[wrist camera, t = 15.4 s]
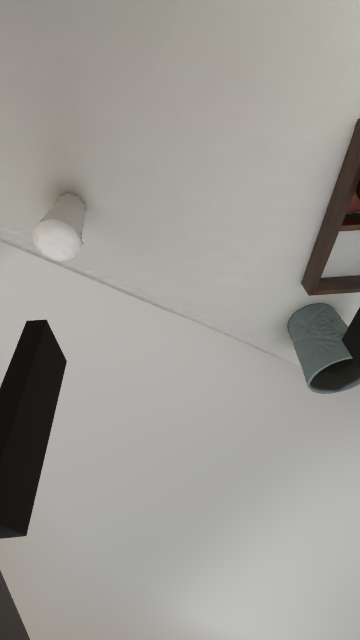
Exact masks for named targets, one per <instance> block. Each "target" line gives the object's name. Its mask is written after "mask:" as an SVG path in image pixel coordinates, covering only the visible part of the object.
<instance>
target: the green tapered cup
mask: <svg viewBox="0 0 360 640" xmlns="http://www.w3.org/2000/svg"><path fill="white" fill-rule="evenodd" d="M347 329H348V326H347V325H346V324H345V323H344V321H343V320H342V319H341V317H340V316H339V315H338V313H337V312H336V311H335V309H334V308H333V307H331V306H330V305H327V304H312V305H309V306H306V307H304V308H302V309H300V310H299V311H297V312H296V313H295V314H294V315H293V316H292V317H291V318H290V320H289V322H288V331H289V334H290V337H291V339H292V340H293V345H294V348H295V350H296V353H297V356H298V358H299V361H300V364H301V366H302V369H303V373H304V376H305V379H306V382H307V385H308V387H309V389H310V390H312V391H313V392H316V393H322V394H327V393H328V394H329V393H336V392H341V391H344V390H347V389H350V388H353V387H355V386H357V385H359V384H360V370H359V368H358V366H357V365H356V363H355V361H354V360H353V358H352V357H351V355H350V353H349V352H348V350H347V348H346V347H345V345H344V344H343V342H342V340H341V339H342V338H343V336H344V334H345V332H346V331H347Z"/></svg>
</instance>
